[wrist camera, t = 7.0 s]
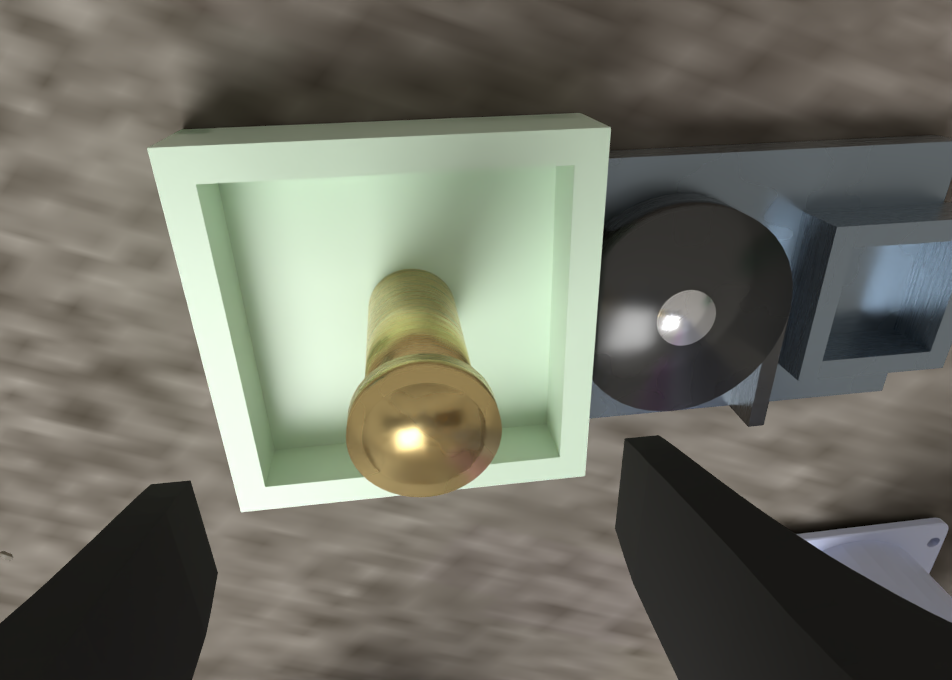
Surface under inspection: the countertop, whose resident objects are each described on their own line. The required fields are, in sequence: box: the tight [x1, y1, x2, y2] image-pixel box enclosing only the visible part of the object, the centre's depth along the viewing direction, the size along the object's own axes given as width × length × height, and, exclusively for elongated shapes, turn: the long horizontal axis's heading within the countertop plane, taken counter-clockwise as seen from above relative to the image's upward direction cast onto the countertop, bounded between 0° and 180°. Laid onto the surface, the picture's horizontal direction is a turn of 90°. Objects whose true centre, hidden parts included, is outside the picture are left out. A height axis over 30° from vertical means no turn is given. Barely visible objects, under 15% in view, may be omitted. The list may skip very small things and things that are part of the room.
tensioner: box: [589, 135, 952, 427], centre depth 18 cm, size 8×12×2 cm
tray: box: [147, 113, 611, 512], centre depth 17 cm, size 10×10×2 cm
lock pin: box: [346, 269, 502, 497], centre depth 15 cm, size 3×3×6 cm
